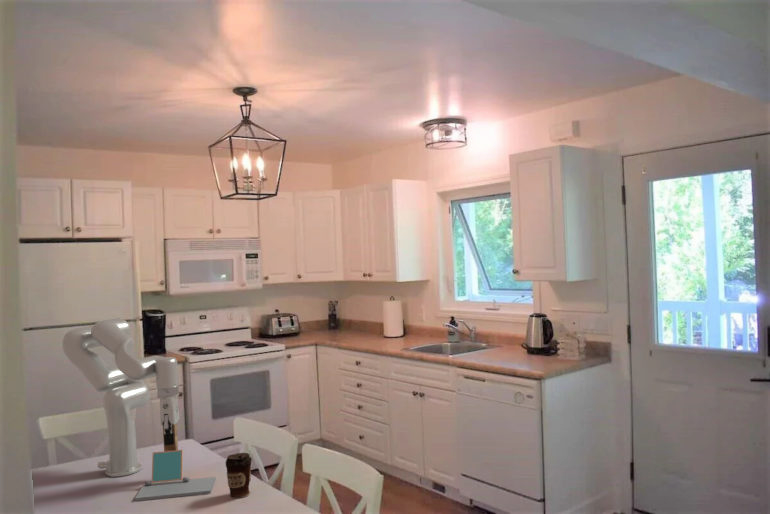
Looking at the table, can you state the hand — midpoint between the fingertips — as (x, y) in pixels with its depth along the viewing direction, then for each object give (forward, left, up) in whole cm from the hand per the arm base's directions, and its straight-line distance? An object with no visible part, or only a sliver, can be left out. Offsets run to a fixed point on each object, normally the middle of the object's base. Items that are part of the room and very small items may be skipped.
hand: (170, 442), depth 222 cm
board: (+4, -13, -13) cm, 19 cm away
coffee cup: (+26, -23, -13) cm, 37 cm away
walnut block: (0, 0, -4) cm, 4 cm away
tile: (0, -7, -6) cm, 10 cm away
